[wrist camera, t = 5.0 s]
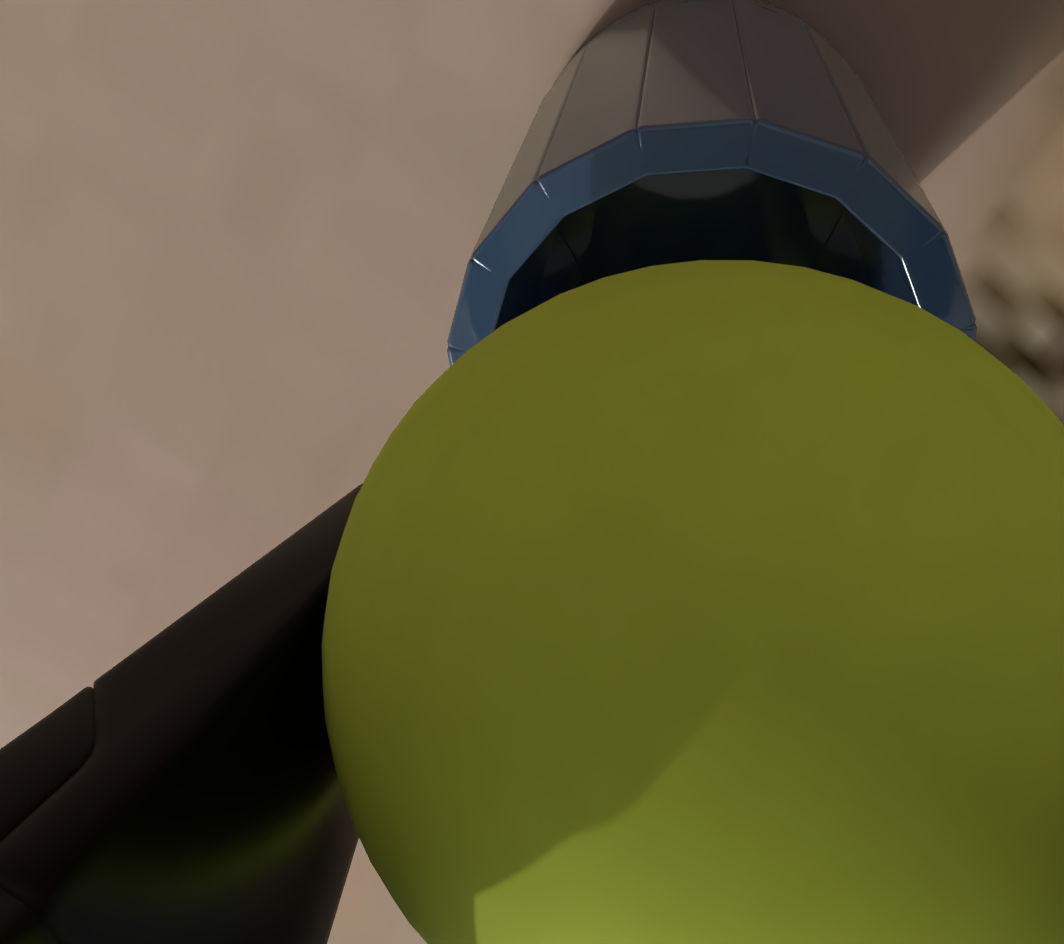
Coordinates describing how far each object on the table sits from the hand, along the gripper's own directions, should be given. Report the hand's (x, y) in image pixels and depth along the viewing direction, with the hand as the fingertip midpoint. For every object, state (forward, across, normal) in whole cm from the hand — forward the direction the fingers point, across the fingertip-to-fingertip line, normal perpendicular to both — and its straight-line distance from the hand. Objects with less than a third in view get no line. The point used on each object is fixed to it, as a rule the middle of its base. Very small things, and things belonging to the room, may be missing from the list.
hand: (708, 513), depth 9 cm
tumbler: (+9, 0, 0) cm, 9 cm away
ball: (-2, 0, 0) cm, 2 cm away
